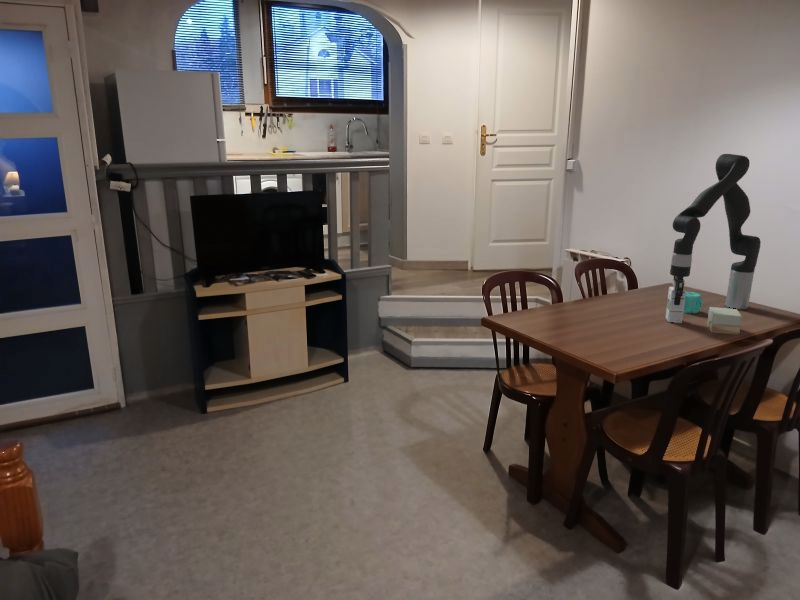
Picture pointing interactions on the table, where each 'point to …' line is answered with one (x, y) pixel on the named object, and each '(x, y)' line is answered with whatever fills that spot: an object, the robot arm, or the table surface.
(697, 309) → the decorative dice
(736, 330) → the tower bottom
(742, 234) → the robot arm
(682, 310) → the syrup box
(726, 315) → the tower top
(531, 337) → the table surface
